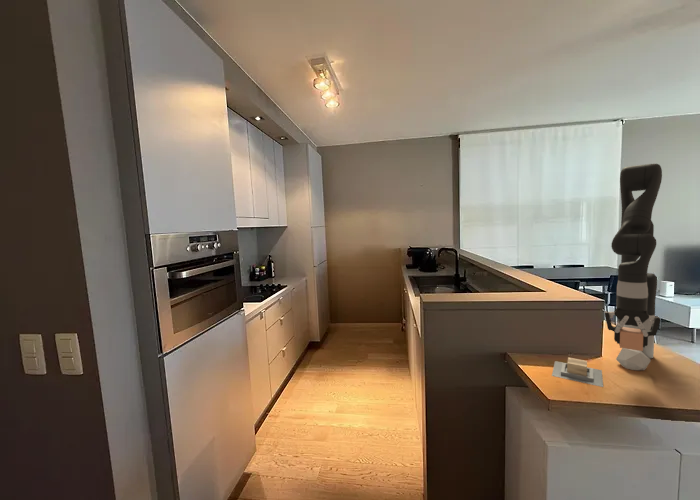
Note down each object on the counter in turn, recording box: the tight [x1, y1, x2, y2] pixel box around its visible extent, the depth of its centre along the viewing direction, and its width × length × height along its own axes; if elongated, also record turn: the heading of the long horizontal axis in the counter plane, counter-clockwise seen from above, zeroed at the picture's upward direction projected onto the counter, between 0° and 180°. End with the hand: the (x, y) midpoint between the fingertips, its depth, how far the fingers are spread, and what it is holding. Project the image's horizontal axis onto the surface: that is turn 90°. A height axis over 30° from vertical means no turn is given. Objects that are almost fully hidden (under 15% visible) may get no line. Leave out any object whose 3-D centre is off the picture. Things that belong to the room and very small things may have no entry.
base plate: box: [551, 360, 604, 388], centre depth 110 cm, size 14×14×2 cm
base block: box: [566, 357, 588, 376], centre depth 110 cm, size 6×6×4 cm
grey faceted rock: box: [615, 348, 652, 371], centre depth 113 cm, size 8×9×10 cm
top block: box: [618, 327, 643, 351], centre depth 103 cm, size 6×6×6 cm
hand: (630, 344), depth 103 cm, fingers closed on top block, 5 cm apart
